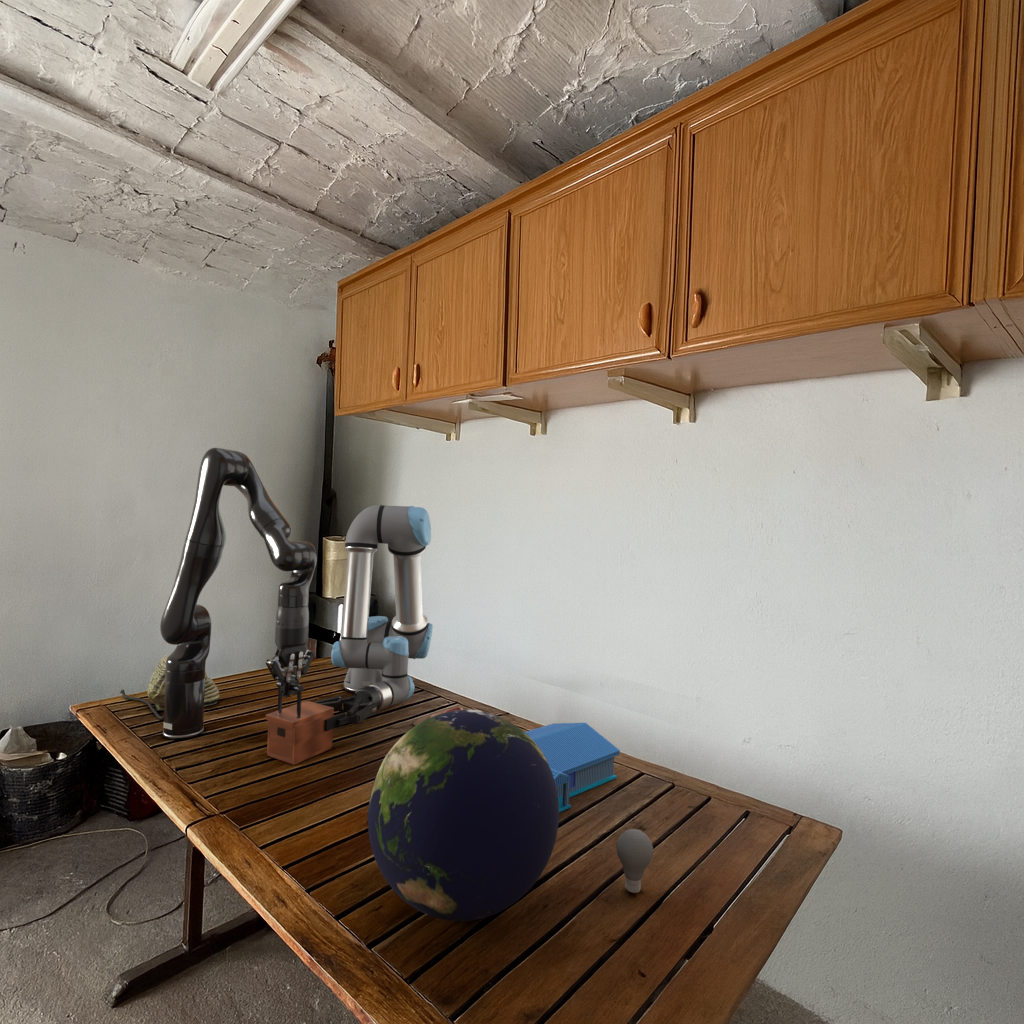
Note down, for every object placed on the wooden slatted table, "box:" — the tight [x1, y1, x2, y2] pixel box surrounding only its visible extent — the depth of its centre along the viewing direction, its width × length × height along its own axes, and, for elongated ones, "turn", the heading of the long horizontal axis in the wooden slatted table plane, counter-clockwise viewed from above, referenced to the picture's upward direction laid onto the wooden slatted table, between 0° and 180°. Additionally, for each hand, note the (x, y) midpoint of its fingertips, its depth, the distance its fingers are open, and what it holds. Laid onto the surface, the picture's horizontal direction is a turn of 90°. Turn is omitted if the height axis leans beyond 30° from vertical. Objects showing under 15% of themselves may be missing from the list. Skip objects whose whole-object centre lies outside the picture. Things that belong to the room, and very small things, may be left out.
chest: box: [266, 713, 334, 766], centre depth 156 cm, size 12×9×9 cm
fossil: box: [147, 654, 221, 712], centre depth 185 cm, size 9×18×15 cm, turn 132°
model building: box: [524, 722, 621, 813], centre depth 143 cm, size 39×24×10 cm, turn 132°
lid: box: [265, 680, 334, 728], centre depth 156 cm, size 13×9×9 cm
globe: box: [367, 709, 560, 922], centre depth 100 cm, size 30×30×30 cm
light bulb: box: [615, 828, 654, 894], centre depth 106 cm, size 6×6×10 cm
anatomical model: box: [412, 706, 464, 727], centre depth 179 cm, size 13×4×12 cm
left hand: (289, 695), depth 153 cm, fingers closed on lid
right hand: (310, 721), depth 159 cm, fingers closed on chest, 9 cm apart
